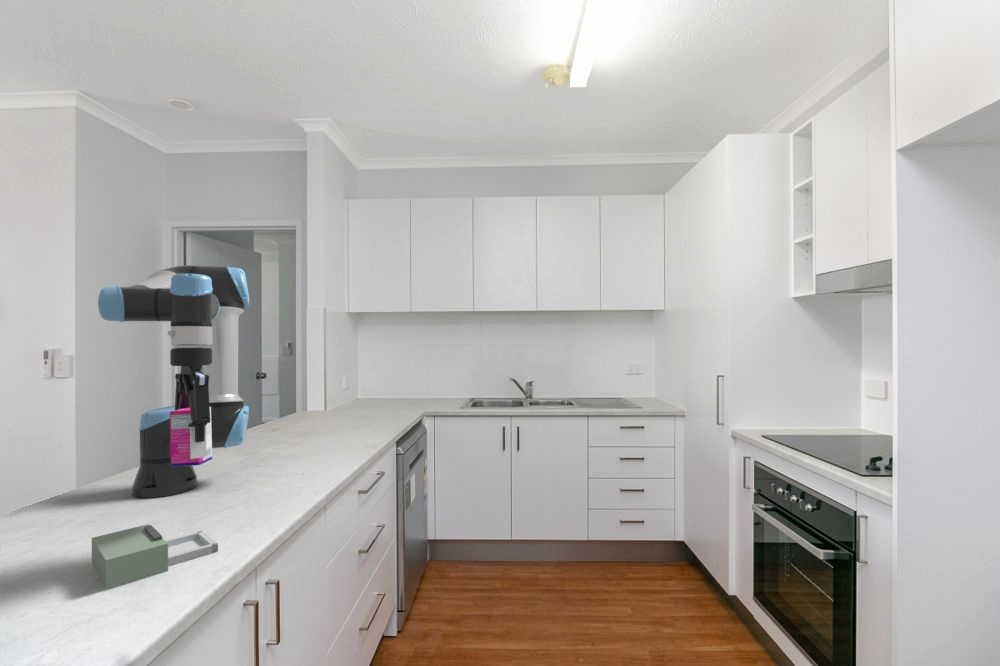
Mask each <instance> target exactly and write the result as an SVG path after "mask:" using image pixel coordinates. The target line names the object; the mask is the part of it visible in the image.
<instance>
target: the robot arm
mask: <svg viewBox="0 0 1000 666" xmlns="http://www.w3.org/2000/svg"><path fill="white" fill-rule="evenodd" d="M246 276H247V275H246V273H245V271H244V270H243V269H242V268H239V267H232V266H230V267H229V266H206V265H205V266H204V265H186V264H185V265H179V266H173V267H168V268H164V269H160V270H157V271H155V272H153V273H152V274H150V275H149V276H148V277H147V278H146V280H143V281H141V282H138V283H136V284H133V285H131V286H128V287H127V286H105V287H103V288H102V289H101V290H100V291H99V293H98V300H97V306H98V312H99V315H100V317H101V318H102V319H103V320H104V321H108V322H120V323H124V322H170V330H169V331H167V336H170V345H171V346H173V348H171V349H170V350H169V351H170V355H169V357H170V359H169V361H170V362H169V363H170V365H171V366H173V367H180V373H175V376H174V378H175V396H174V398H175V399H174V405H170V406H165V407H158V408H155V409H151V410H148V411H145V412H144V413H142V414H141V415H140V420H139V429H138V432H139V466H138V470H137V474H136V475H135V479H134V481H133V484H132V487H131V494H132V496H133V497H135V498H145V499H147V498H149V499H150V498H151V499H152V498H160V497H161V498H162V497H167V496H173V495H177V494H180V493H181V494H182V493H185V492H187V491H191V490H193V489H194V488H196V487H197V485H198V475H197V474H196V471H195V469H194V467H193V466H194V465H193V466H171V443H170V412H171V411H175V410H179V409H183V408H190V412H191V419H192V423H190V424H189V425H188V427H190V459H195V458H201V457H206V425H207V423H210V420H211V430H212V449H221V448H223V449H227V448H231V447H232V448H233V447H238V446H241V445H242V443H244V441H245V437H246V434H247V429H248V423H249V417H250V416H249V414H250V413H249V412H250V407H249V406H247V405H244V399H242V397H241V396H239V318H240V316H241V315H242V314H243V313H244V312H245V307H248V306H250V294H249V289H248V282H247V277H246ZM203 366H204V367H205V368H204V370H203ZM210 407H211V419H210Z"/></svg>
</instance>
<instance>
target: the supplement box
mask: <svg viewBox="0 0 1000 666" xmlns="http://www.w3.org/2000/svg"><path fill="white" fill-rule="evenodd" d="M210 419H211V407H210ZM190 423H192V419H191V412H190V408H183V409H179V410H175V411H171V412H170V443H171V466H200V465H202V464H205V463H207V462H209V461H210V460H211V461H212V460H213V448H212V430H211V420H210V423H207V425H206V457H201V458H195V459H190V427H188V425H189V424H190Z"/></svg>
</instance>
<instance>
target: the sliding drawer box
mask: <svg viewBox="0 0 1000 666" xmlns="http://www.w3.org/2000/svg"><path fill="white" fill-rule="evenodd" d="M216 552H219V544H218V542H216V540H214V539H213V538H211V537H210V535H208V534H207V533H205V532H204V531H203V530H198V531H195V532H190V533H188V534H187V533H186V534H184V535H183V534H182V535H180V536H177V537H172V538H169V539H164V538H163V535H162V534H161V533H160V532H159V531H158V530H157V529H156V528H155V527H154V526H153V525H151V524H150V523H147V524H144V525H140V526H135V527H131V528H125V529H123V530H119V531H115V532H111V533H106V534H102V535H98V536H95V537H91V565H92V567H93V569H94V571H95V573H96V574H97V576H98V578H99V580H100V581H101V583H102V585H103V587H104V589H105V590H110V589H113V588H116V587H119V586H122V585H125V584H130V583H133V582H135V581H136V582H137V581H139V580H142V579H145V578H149V577H151V576H155V575H158V574H163V573H164V572H165V573H166V572H168V571H169V567H170V566H174V565H177V564H180V563H183V562H188V561H190V560H194V559H197V558H201V557H203V556H206V555H210V554H214V553H216Z"/></svg>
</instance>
